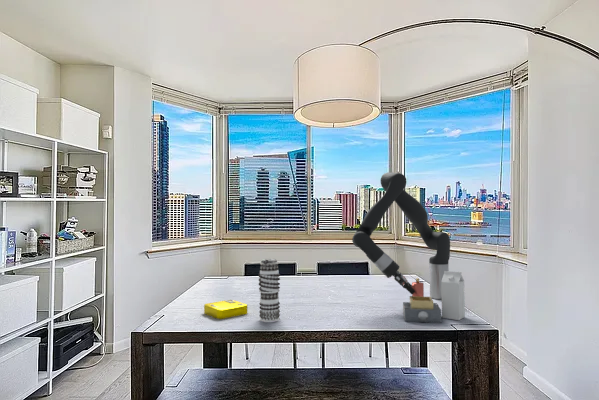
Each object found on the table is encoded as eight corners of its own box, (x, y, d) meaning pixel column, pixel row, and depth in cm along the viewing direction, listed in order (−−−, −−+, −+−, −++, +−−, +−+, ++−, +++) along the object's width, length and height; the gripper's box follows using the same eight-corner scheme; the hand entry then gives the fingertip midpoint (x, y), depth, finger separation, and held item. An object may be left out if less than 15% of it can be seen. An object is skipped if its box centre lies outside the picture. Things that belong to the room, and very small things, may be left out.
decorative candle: (260, 323, 164) (260, 261, 165) (256, 317, 173) (256, 258, 174) (283, 321, 167) (282, 260, 167) (277, 315, 176) (277, 257, 176)
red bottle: (411, 308, 186) (411, 277, 186) (423, 308, 185) (422, 277, 185) (412, 311, 181) (412, 279, 181) (424, 311, 180) (424, 279, 180)
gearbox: (403, 313, 176) (402, 295, 177) (437, 315, 174) (436, 296, 174) (405, 322, 163) (404, 302, 164) (441, 323, 161) (441, 303, 161)
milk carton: (447, 314, 175) (447, 269, 175) (465, 317, 170) (464, 271, 171) (441, 317, 169) (440, 271, 170) (459, 320, 165) (458, 273, 165)
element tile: (202, 313, 182) (202, 303, 182) (231, 308, 192) (231, 298, 192) (218, 320, 171) (218, 309, 171) (249, 314, 180) (249, 303, 180)
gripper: (392, 261, 179) (420, 288, 176) (391, 257, 193) (417, 282, 190) (380, 273, 179) (408, 300, 177) (380, 268, 193) (406, 293, 191)
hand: (413, 291), depth 184 cm, fingers open, 8 cm apart
